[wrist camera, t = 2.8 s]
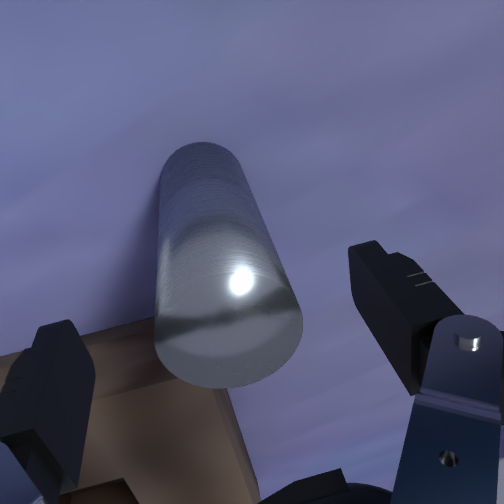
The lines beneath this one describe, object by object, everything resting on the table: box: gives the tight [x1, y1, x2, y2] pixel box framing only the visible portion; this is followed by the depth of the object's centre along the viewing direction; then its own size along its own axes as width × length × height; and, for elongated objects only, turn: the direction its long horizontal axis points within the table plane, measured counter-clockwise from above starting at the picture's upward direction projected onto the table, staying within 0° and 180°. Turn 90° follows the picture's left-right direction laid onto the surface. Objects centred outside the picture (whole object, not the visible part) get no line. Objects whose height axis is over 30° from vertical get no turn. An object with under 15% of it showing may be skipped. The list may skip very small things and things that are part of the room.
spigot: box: [154, 142, 303, 389], centre depth 16 cm, size 4×4×11 cm
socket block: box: [0, 317, 261, 504], centre depth 27 cm, size 18×18×5 cm
